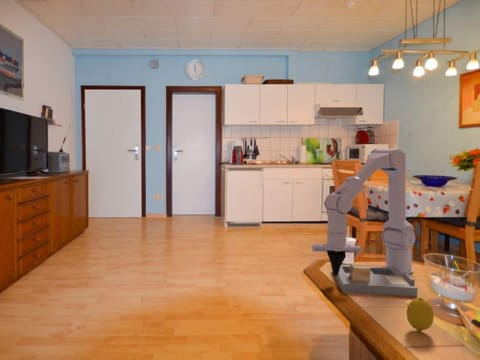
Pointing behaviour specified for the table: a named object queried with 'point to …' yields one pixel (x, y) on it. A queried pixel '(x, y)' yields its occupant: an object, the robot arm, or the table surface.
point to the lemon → (420, 314)
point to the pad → (397, 280)
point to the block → (359, 272)
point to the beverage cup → (349, 256)
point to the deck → (376, 282)
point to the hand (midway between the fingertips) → (335, 274)
